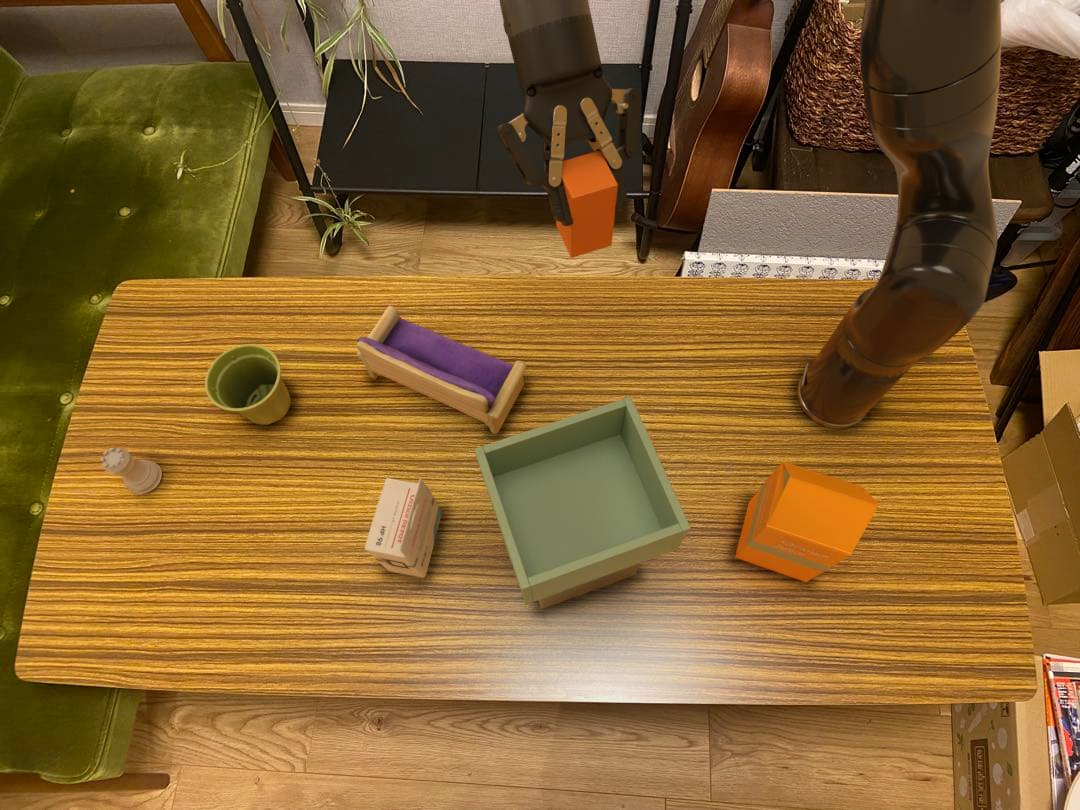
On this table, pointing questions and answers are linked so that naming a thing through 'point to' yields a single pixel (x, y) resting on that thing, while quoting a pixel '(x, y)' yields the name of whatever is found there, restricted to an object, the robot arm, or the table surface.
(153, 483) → the rook chess piece
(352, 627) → the table surface
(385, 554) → the ink box
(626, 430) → the square open-top tray
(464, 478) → the table surface
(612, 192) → the orange rectangular block
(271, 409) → the plant pot
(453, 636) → the table surface
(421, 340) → the toy sofa
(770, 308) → the table surface
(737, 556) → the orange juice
